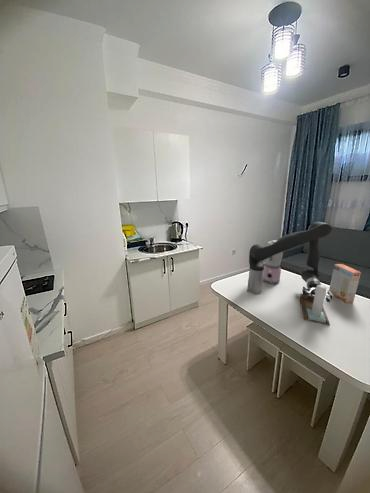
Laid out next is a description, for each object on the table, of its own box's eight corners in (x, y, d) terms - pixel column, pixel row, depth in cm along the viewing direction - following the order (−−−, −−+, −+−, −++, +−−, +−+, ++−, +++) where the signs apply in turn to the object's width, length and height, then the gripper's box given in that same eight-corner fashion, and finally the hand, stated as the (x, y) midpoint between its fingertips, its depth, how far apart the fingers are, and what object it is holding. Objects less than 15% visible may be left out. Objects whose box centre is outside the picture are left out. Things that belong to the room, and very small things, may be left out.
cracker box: (353, 302, 128) (362, 272, 122) (344, 303, 127) (352, 272, 121) (336, 291, 141) (342, 263, 135) (328, 291, 141) (334, 263, 135)
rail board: (303, 319, 113) (304, 314, 112) (299, 298, 134) (300, 292, 133) (329, 325, 108) (330, 319, 107) (320, 301, 130) (321, 296, 128)
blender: (265, 275, 166) (269, 238, 156) (281, 279, 159) (286, 240, 149) (258, 283, 154) (263, 242, 144) (275, 288, 147) (281, 245, 137)
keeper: (308, 319, 112) (314, 289, 106) (306, 310, 119) (311, 282, 113) (325, 322, 109) (332, 291, 103) (322, 313, 116) (328, 284, 110)
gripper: (301, 278, 126) (305, 290, 112) (329, 282, 121) (336, 295, 107) (299, 289, 129) (303, 302, 114) (326, 293, 123) (333, 308, 109)
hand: (319, 299), depth 111 cm, fingers open, 8 cm apart
